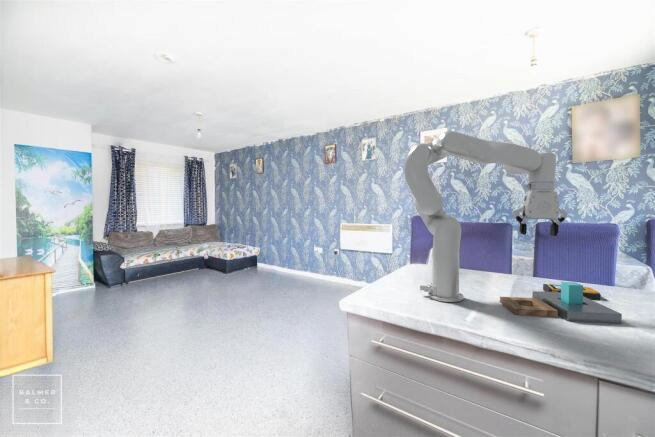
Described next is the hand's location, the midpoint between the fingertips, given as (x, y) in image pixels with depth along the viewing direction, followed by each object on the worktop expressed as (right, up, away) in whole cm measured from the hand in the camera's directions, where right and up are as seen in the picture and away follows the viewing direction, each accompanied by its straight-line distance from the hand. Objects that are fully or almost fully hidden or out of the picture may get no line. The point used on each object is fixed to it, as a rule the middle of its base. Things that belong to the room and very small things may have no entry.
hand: (538, 234), depth 103 cm
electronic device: (+18, -24, +7) cm, 31 cm away
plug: (+4, -25, -9) cm, 27 cm away
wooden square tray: (-10, -25, -7) cm, 27 cm away
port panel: (+4, -25, -9) cm, 27 cm away
